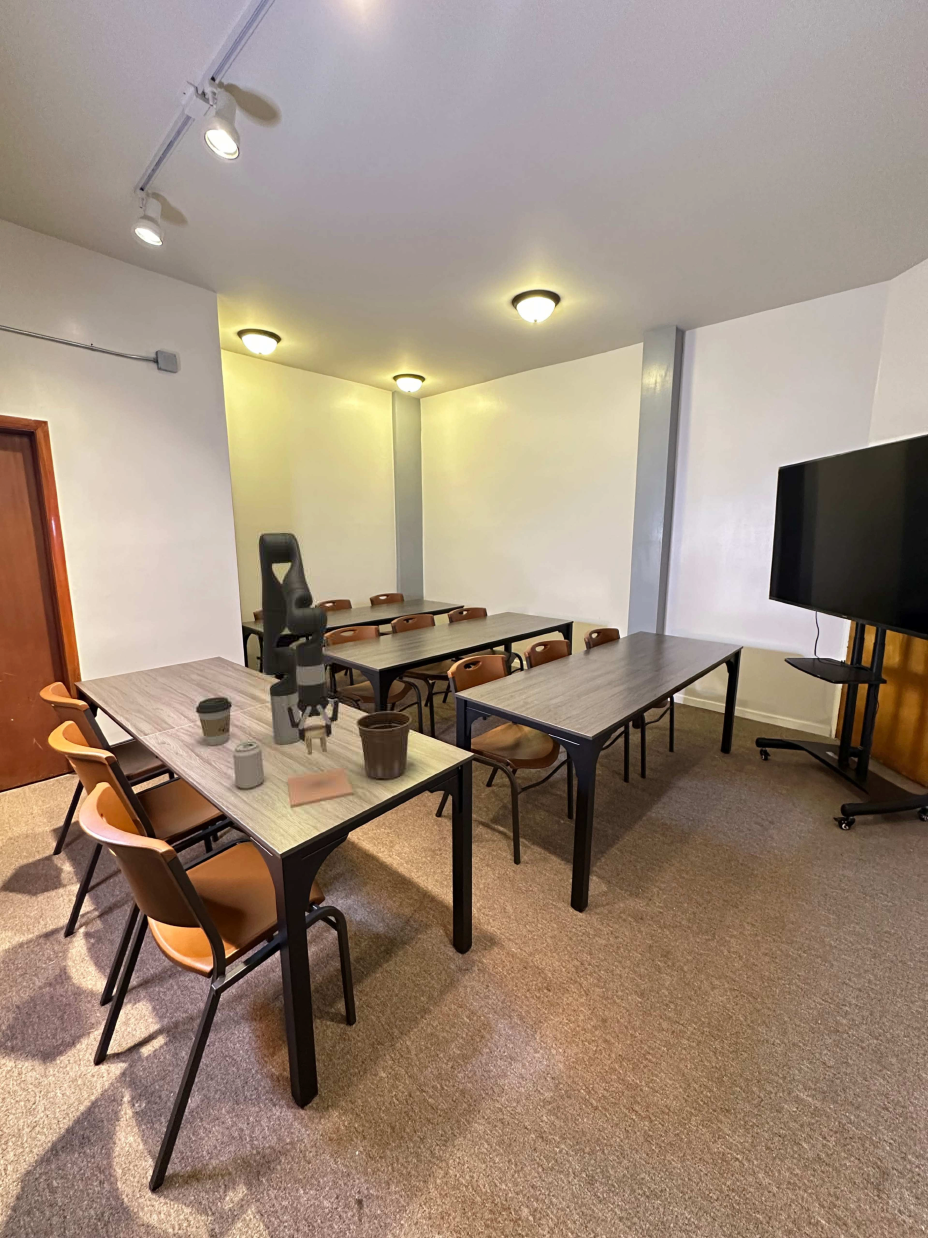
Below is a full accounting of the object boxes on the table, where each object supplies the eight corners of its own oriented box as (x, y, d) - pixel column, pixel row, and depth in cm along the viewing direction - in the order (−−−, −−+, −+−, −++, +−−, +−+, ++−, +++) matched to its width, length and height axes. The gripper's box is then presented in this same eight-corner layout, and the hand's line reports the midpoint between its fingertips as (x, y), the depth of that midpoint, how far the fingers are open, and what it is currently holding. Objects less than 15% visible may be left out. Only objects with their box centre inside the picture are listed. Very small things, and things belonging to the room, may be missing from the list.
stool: (304, 747, 137) (302, 726, 136) (326, 744, 140) (324, 722, 139) (306, 756, 132) (304, 733, 131) (329, 752, 134) (327, 730, 133)
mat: (287, 781, 142) (287, 778, 142) (343, 770, 148) (343, 767, 148) (291, 807, 127) (291, 805, 127) (352, 794, 133) (352, 791, 133)
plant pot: (388, 754, 158) (386, 707, 156) (424, 768, 148) (422, 717, 146) (348, 773, 146) (345, 722, 143) (384, 789, 136) (381, 734, 133)
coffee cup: (220, 749, 165) (216, 707, 163) (191, 747, 168) (187, 705, 165) (242, 736, 176) (238, 696, 174) (214, 734, 179) (210, 695, 176)
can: (268, 777, 144) (264, 739, 143) (258, 789, 137) (254, 749, 135) (242, 778, 144) (239, 740, 142) (231, 790, 137) (227, 750, 135)
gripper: (336, 673, 139) (339, 729, 141) (282, 680, 133) (287, 738, 136) (340, 680, 132) (344, 738, 135) (284, 687, 127) (289, 748, 129)
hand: (315, 738), depth 135 cm, fingers closed on stool, 6 cm apart
